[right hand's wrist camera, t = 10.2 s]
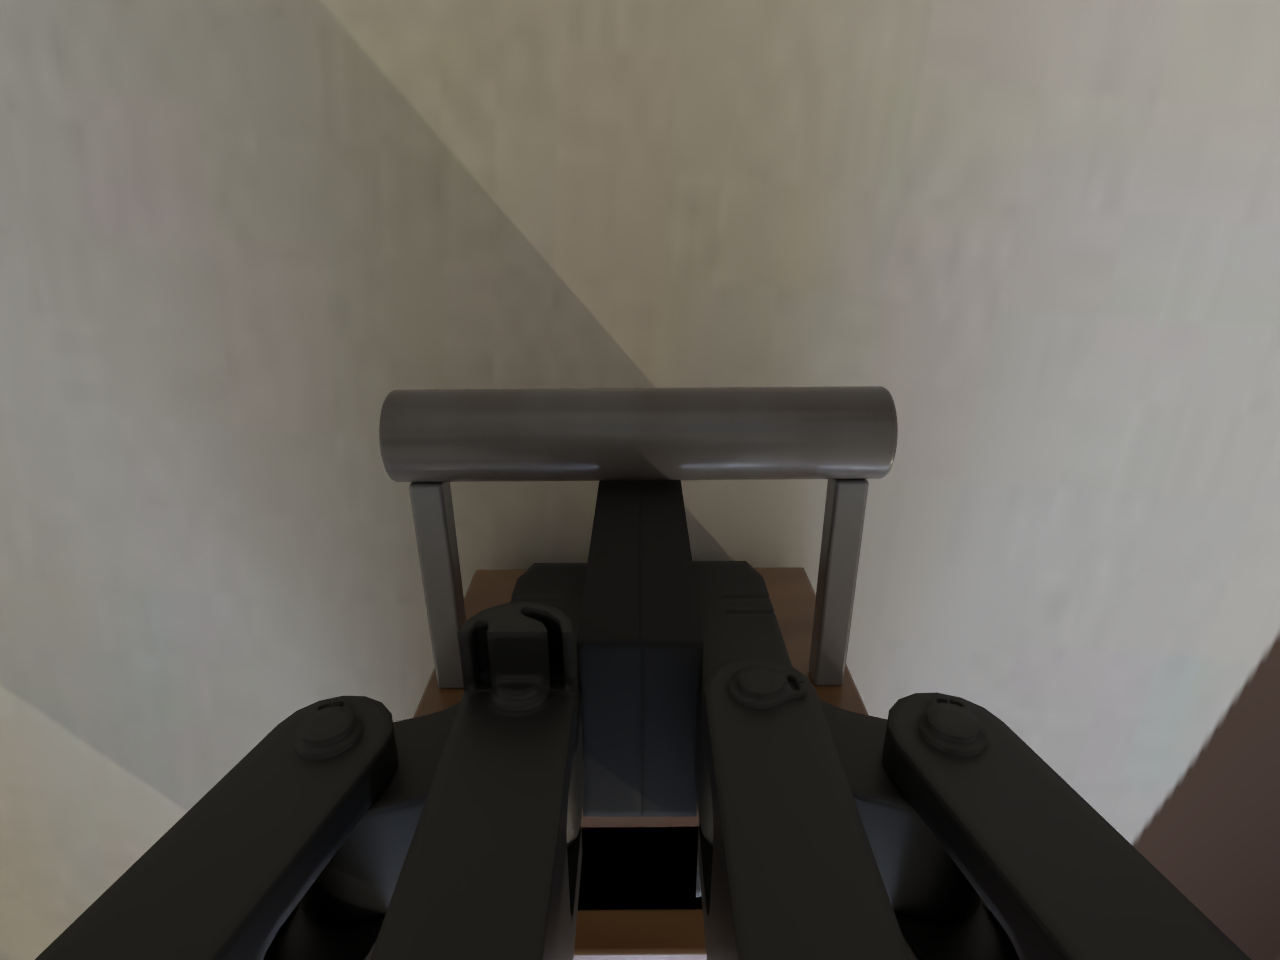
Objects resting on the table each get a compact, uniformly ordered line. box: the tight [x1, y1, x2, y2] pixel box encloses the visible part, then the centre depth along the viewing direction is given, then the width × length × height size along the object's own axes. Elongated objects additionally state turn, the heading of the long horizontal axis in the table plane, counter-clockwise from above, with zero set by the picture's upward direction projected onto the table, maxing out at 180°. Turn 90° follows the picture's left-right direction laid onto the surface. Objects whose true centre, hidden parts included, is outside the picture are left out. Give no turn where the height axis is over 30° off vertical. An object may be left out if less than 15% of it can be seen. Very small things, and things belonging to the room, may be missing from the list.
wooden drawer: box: [379, 386, 897, 910], centre depth 18 cm, size 24×9×7 cm, turn 0°
